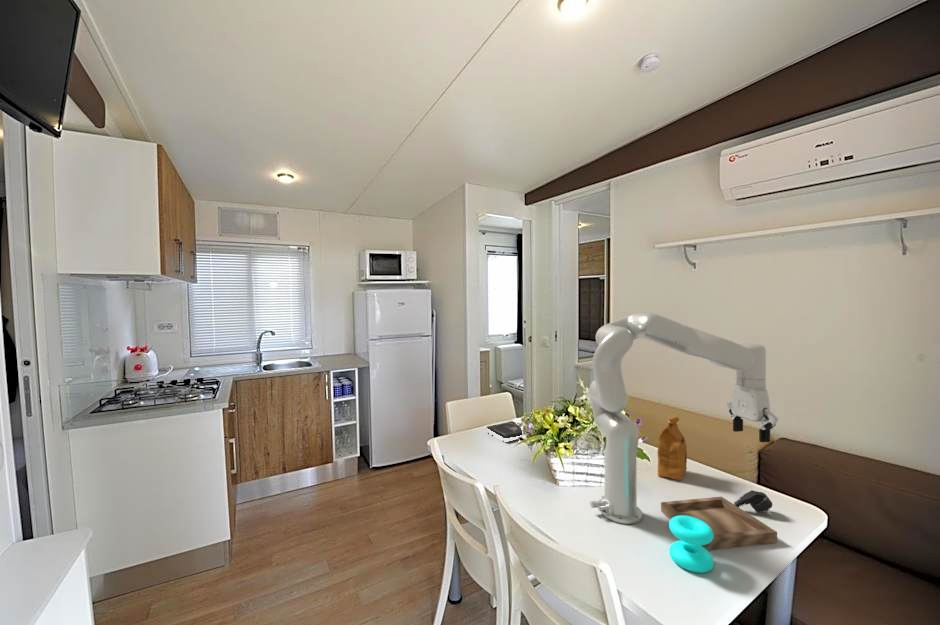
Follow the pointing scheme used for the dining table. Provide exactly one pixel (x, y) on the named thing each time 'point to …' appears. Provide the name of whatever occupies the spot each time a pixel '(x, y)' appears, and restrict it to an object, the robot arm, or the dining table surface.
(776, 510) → the dining table surface
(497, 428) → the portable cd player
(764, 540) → the wooden tray
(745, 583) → the dining table surface
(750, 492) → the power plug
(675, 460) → the coffee package
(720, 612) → the dining table surface
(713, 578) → the dining table surface
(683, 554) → the donuts
